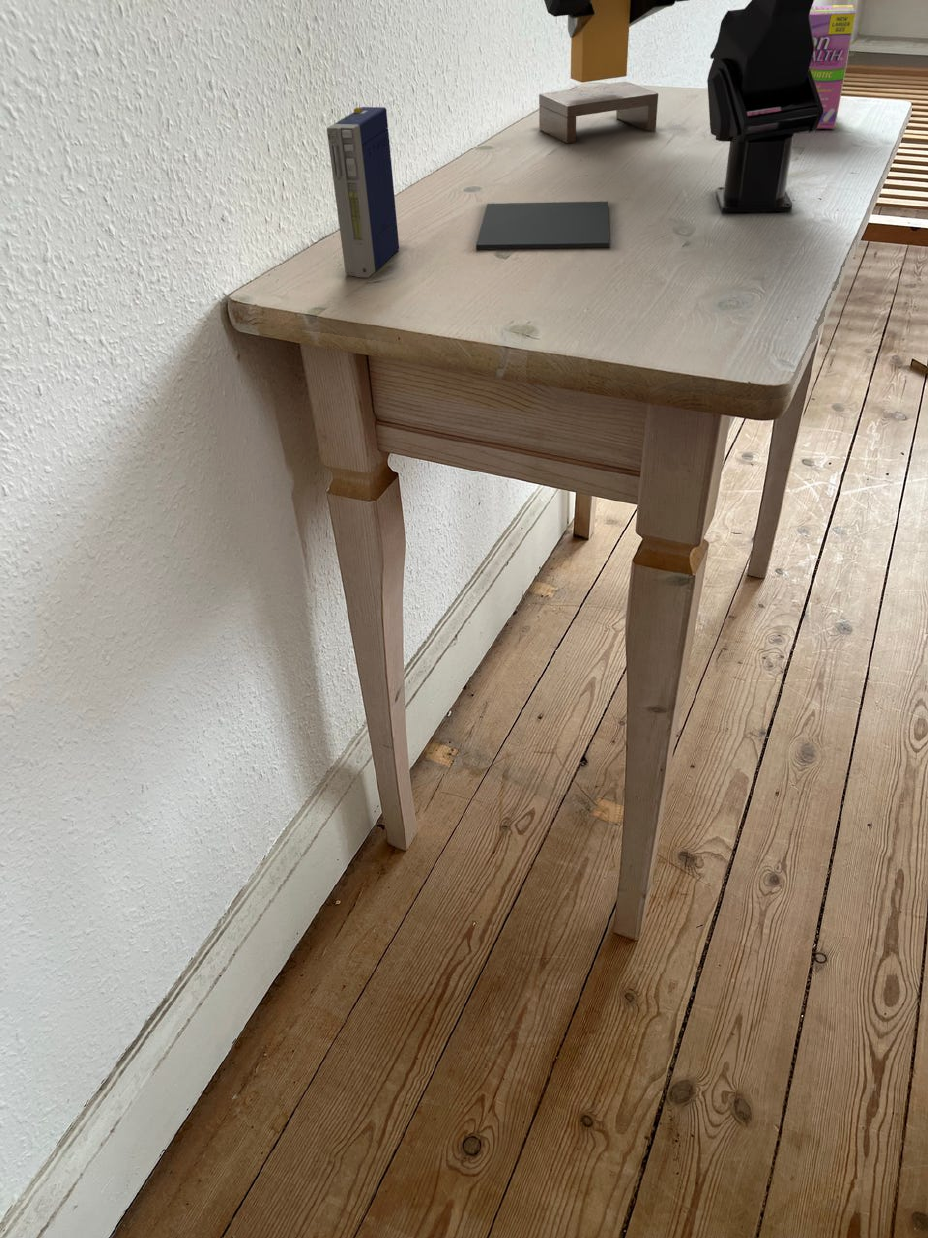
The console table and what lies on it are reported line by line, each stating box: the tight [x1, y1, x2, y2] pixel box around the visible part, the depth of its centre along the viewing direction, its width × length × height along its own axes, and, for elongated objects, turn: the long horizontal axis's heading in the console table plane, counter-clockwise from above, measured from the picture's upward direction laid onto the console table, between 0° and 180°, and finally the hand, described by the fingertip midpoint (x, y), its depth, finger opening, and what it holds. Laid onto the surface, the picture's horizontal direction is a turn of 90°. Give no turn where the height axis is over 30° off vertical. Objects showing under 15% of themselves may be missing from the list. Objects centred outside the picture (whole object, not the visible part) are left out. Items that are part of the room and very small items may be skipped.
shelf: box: [538, 81, 659, 144], centre depth 114 cm, size 8×12×4 cm, turn 111°
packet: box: [570, 0, 631, 83], centre depth 109 cm, size 3×6×10 cm, turn 111°
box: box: [747, 4, 856, 130], centre depth 109 cm, size 10×6×12 cm, turn 76°
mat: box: [475, 201, 610, 250], centre depth 89 cm, size 12×12×1 cm
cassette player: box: [326, 106, 400, 279], centre depth 80 cm, size 7×2×12 cm, turn 162°
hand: (594, 30), depth 110 cm, fingers closed on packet, 6 cm apart
